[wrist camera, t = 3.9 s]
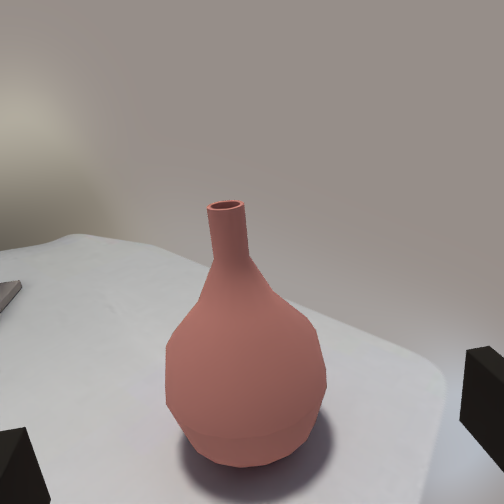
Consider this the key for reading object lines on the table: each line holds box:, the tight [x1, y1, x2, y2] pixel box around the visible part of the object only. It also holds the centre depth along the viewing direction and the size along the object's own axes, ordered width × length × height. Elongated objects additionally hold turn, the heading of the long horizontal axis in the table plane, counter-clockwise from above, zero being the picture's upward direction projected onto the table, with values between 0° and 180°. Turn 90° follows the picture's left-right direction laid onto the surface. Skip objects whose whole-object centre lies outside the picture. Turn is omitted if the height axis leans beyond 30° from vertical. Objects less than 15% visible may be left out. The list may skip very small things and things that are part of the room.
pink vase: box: [165, 200, 327, 468], centre depth 20 cm, size 8×8×12 cm
